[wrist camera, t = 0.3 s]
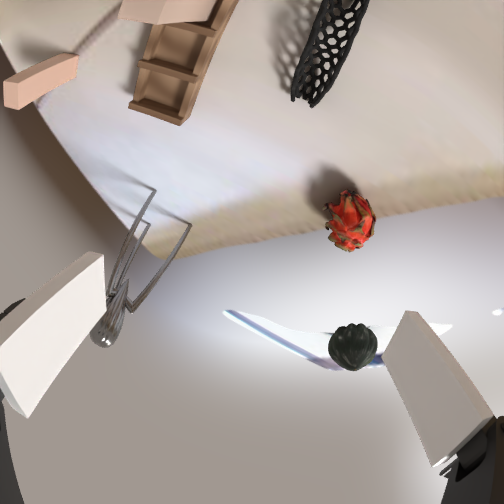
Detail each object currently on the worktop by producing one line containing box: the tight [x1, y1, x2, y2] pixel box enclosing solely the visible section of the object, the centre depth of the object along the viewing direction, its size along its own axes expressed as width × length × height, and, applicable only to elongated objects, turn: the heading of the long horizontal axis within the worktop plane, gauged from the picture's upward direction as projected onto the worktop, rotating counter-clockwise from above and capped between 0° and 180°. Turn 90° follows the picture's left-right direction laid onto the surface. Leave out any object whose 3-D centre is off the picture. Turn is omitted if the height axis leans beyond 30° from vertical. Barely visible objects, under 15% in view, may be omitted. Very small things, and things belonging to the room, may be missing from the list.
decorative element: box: [291, 0, 370, 108], centre depth 23 cm, size 22×5×6 cm, turn 165°
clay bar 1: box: [4, 53, 79, 110], centre depth 25 cm, size 4×4×14 cm
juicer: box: [90, 190, 192, 348], centre depth 45 cm, size 10×11×30 cm
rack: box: [128, 0, 239, 126], centre depth 27 cm, size 22×9×4 cm, turn 157°
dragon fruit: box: [323, 189, 376, 252], centre depth 43 cm, size 8×8×12 cm
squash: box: [328, 323, 377, 371], centre depth 72 cm, size 14×15×15 cm
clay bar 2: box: [117, 0, 218, 25], centre depth 18 cm, size 4×4×14 cm
